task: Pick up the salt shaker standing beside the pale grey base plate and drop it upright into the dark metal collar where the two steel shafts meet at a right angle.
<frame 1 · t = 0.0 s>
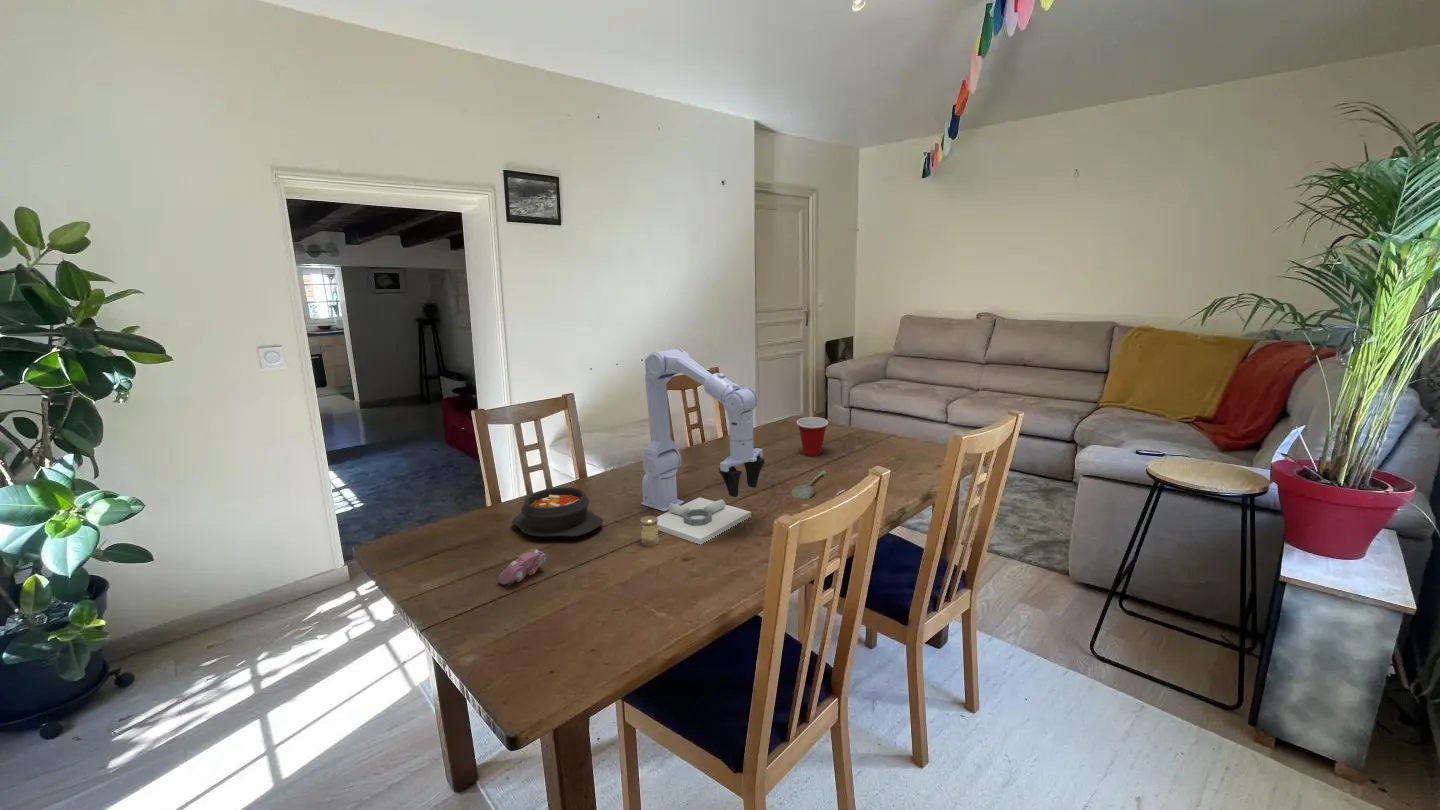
hand: (742, 491, 147), 10 cm above the table, tool pointing down, fingers open, 7 cm apart
adjustable wrench: (835, 510, 160), on the table
casserole: (558, 528, 154), on the table
video game controller: (524, 578, 129), on the table
plastic cup: (812, 454, 207), on the table
soupspoon: (812, 487, 177), on the table
salt shaker: (650, 542, 143), on the table
shaft base: (700, 521, 154), on the table
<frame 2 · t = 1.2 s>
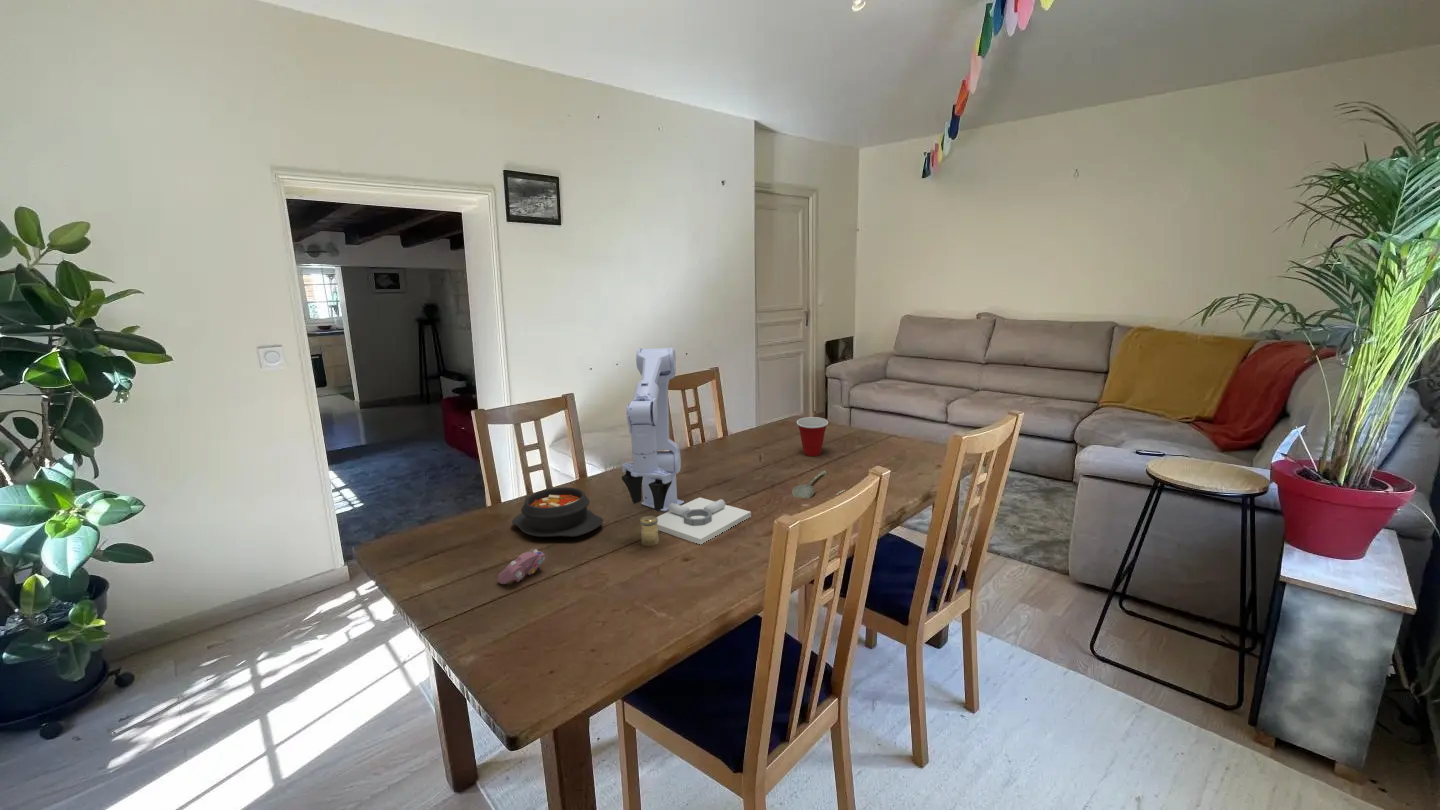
hand: (648, 505, 141), 9 cm above the table, tool pointing down, fingers open, 7 cm apart
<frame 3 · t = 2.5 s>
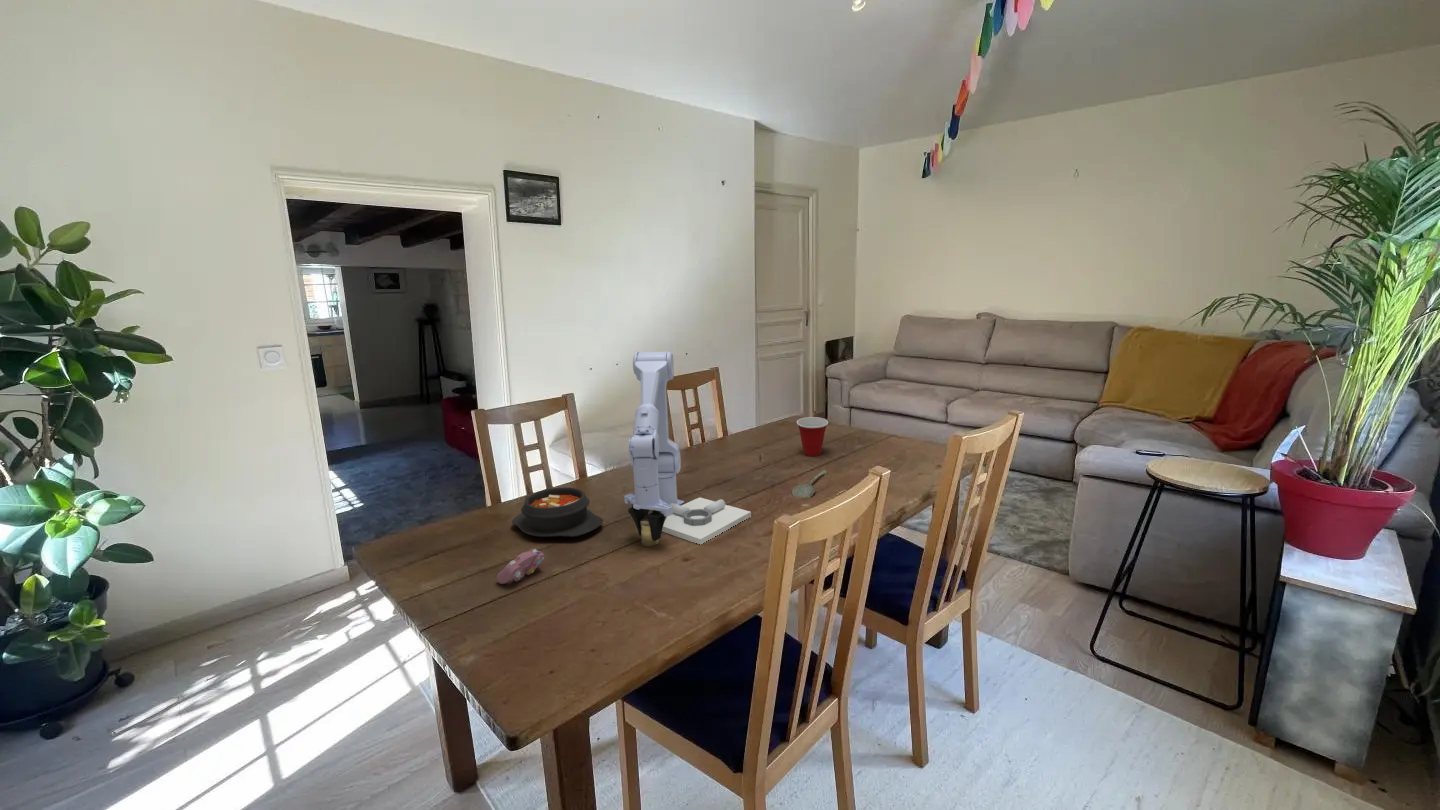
hand: (649, 536, 143), 1 cm above the table, tool pointing down, fingers closed on salt shaker, 4 cm apart
salt shaker: (650, 542, 143), on the table, touching gripper
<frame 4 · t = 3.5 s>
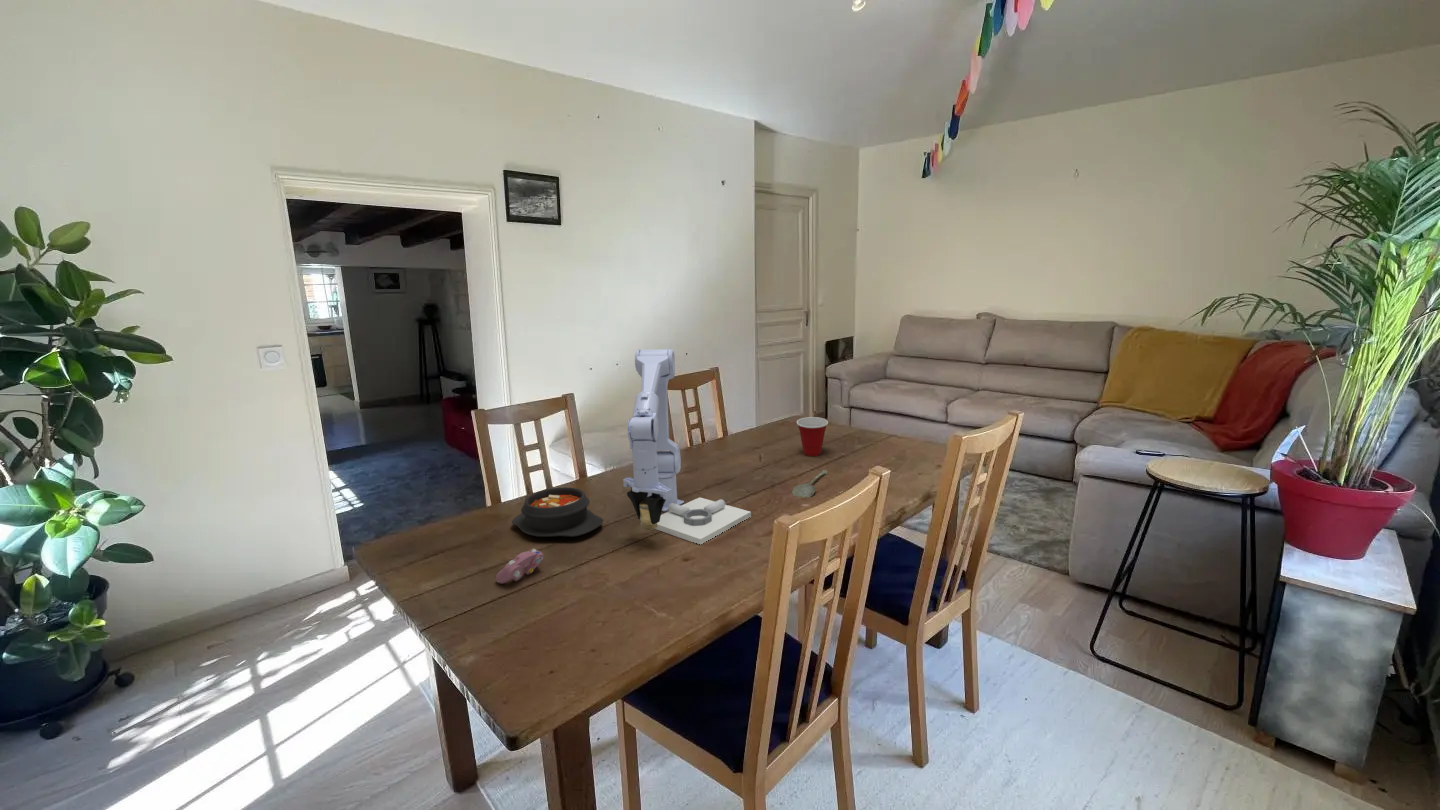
hand: (648, 520, 142), 6 cm above the table, tool pointing down, fingers closed on salt shaker, 4 cm apart
salt shaker: (649, 526, 142), point 4 cm above the table, touching gripper
everything else where it was.
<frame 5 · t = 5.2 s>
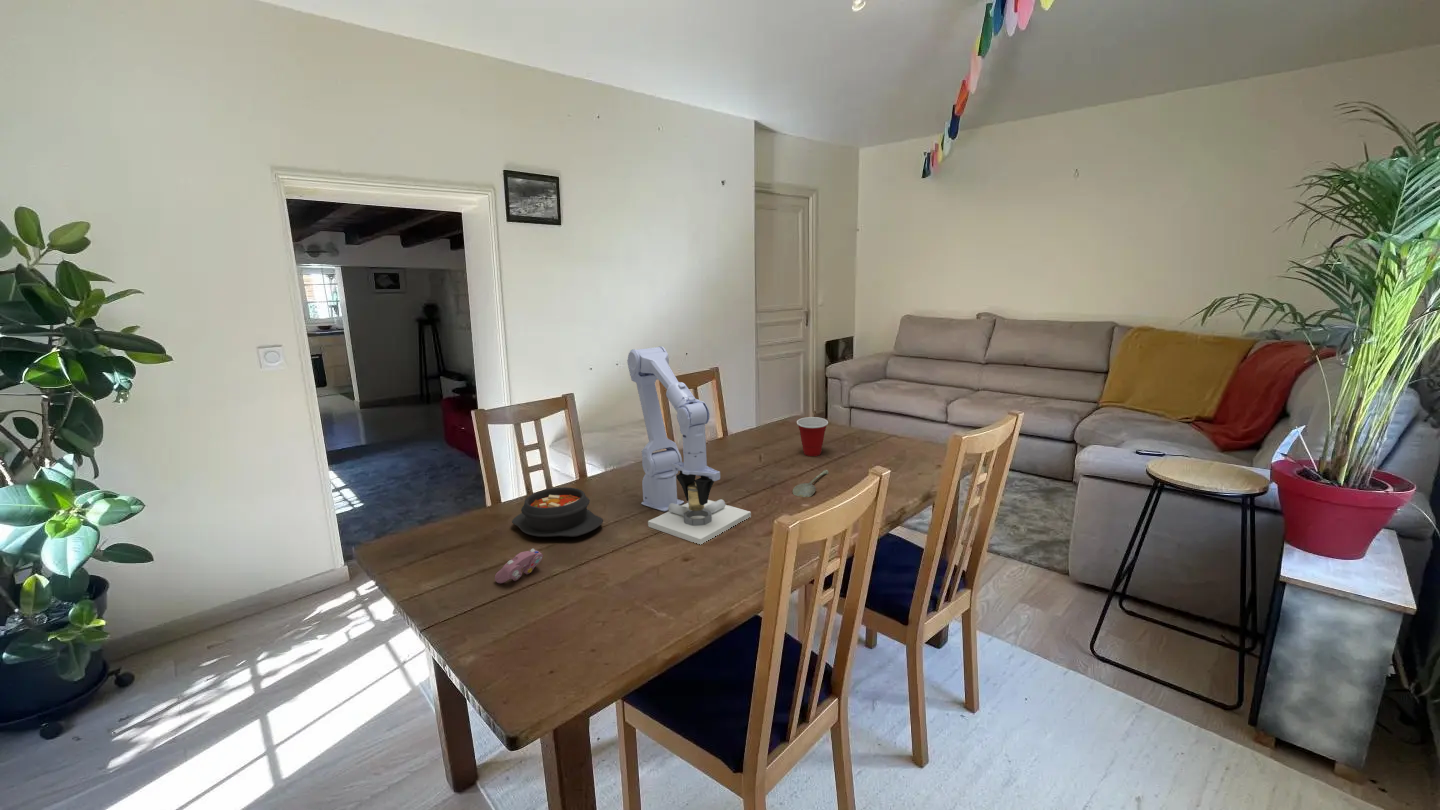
hand: (697, 501, 150), 6 cm above the table, tool pointing down, fingers closed on salt shaker, 4 cm apart
salt shaker: (696, 507, 151), point 5 cm above the table, touching gripper
when the fingers open (5 cm above the table, at t = 5.8 s): salt shaker drops 2 cm, resting on shaft base.
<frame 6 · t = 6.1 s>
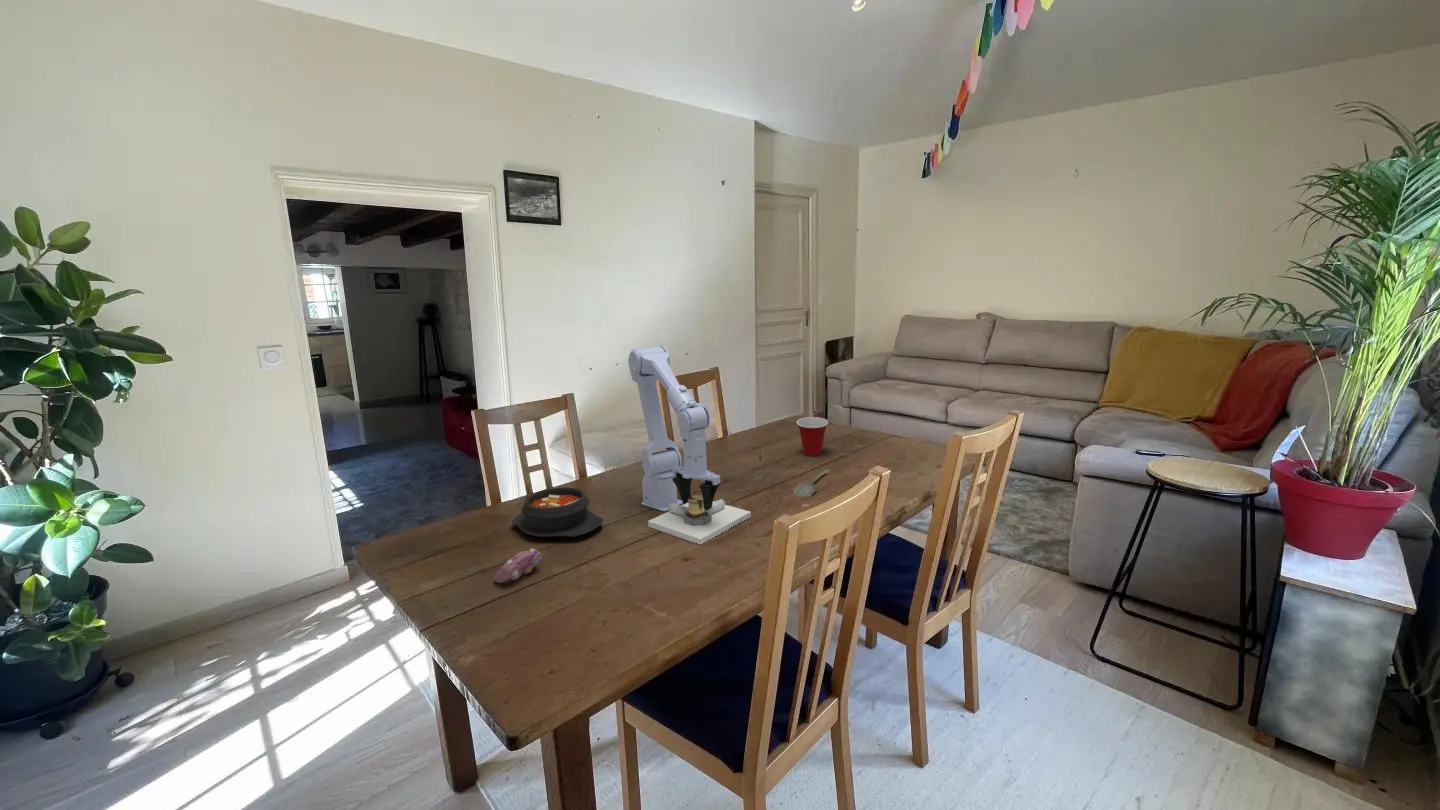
hand: (697, 505, 151), 5 cm above the table, tool pointing down, fingers open, 7 cm apart
salt shaker: (696, 520, 151), point 2 cm above the table, touching shaft base
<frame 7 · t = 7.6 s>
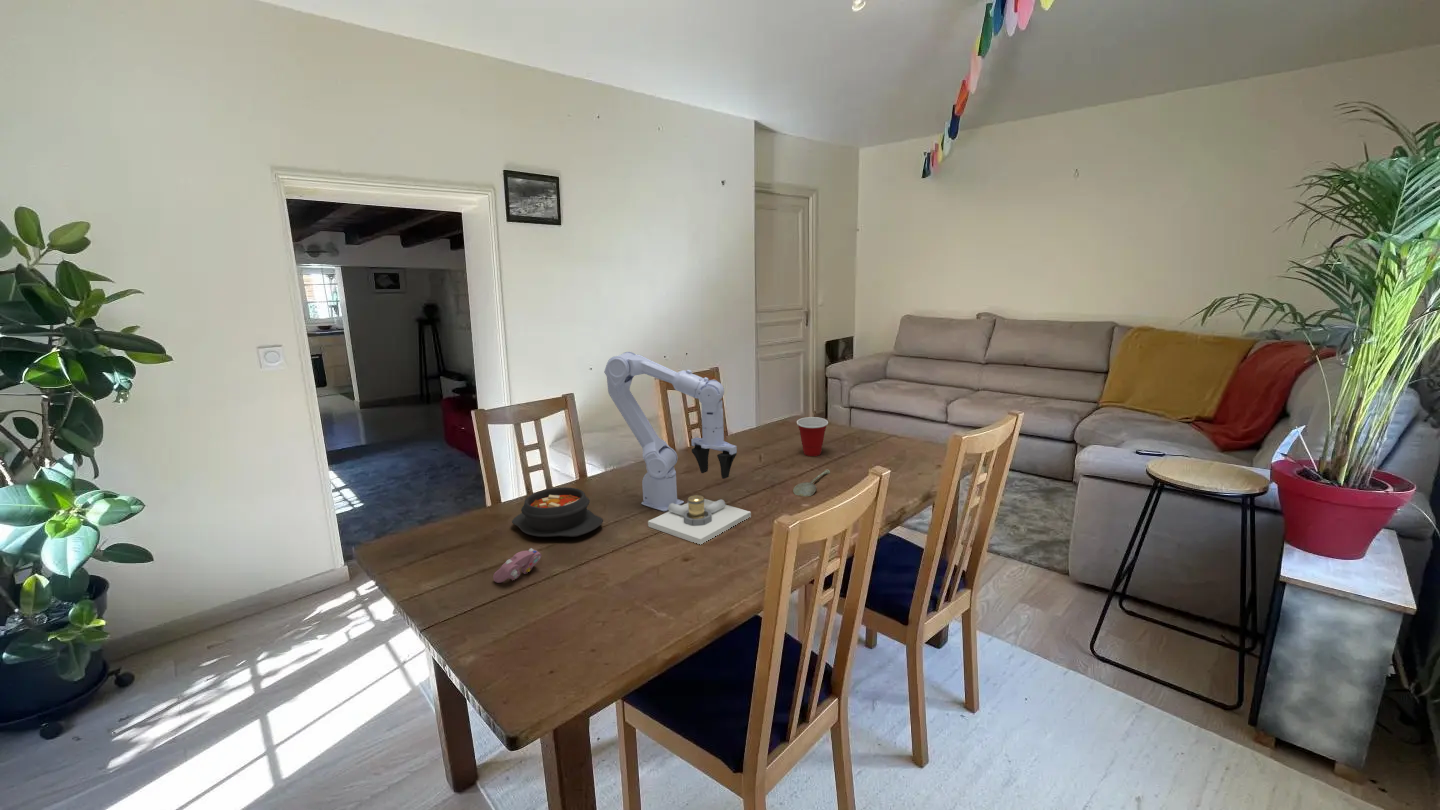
hand: (714, 474, 161), 9 cm above the table, tool pointing down, fingers open, 7 cm apart
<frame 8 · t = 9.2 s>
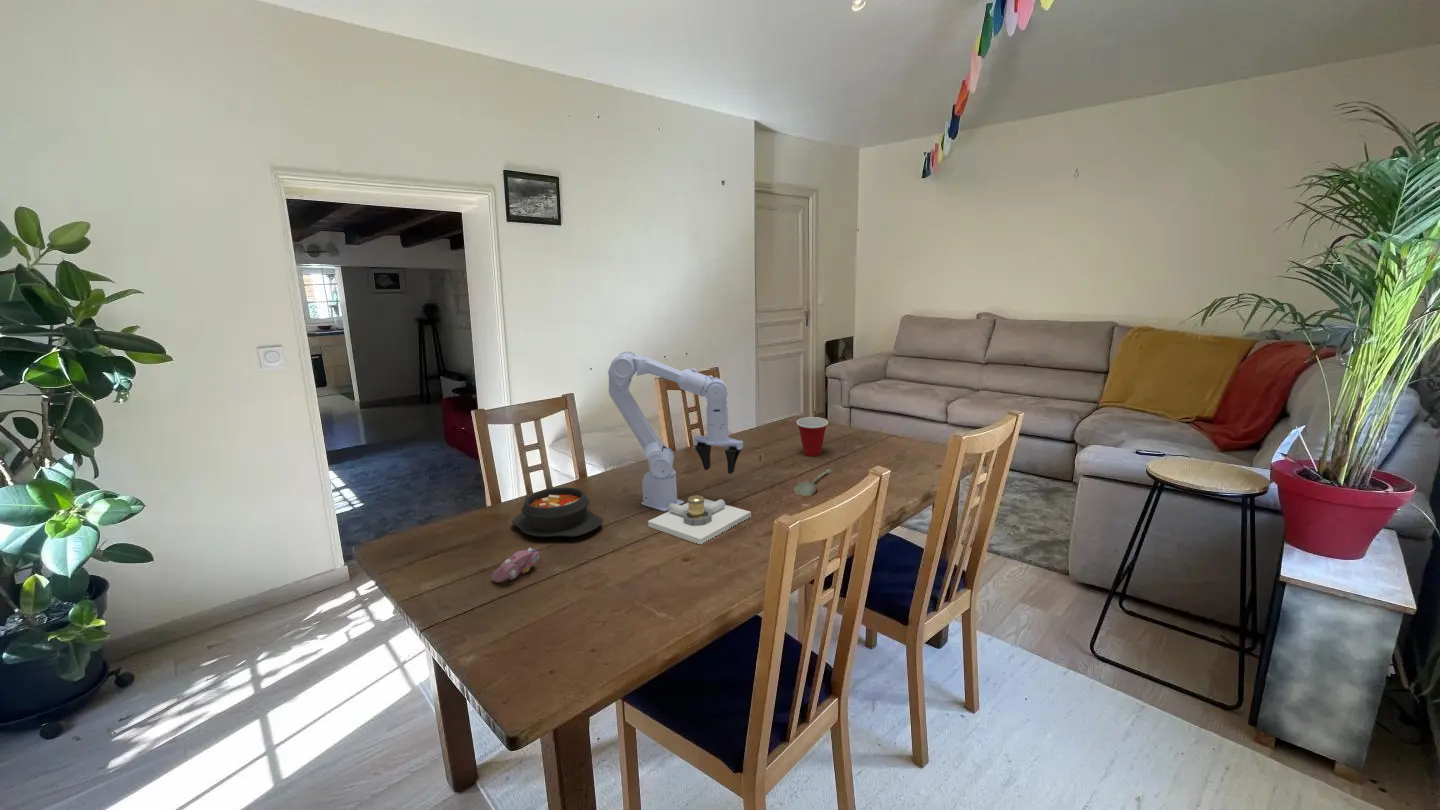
hand: (719, 470, 164), 9 cm above the table, tool pointing down, fingers open, 7 cm apart
at the end: salt shaker 0.3 cm from the target spot on the shaft base, point 1.5 cm above the shaft base's base; salt shaker tilted 0°; the gripper is holding nothing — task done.
